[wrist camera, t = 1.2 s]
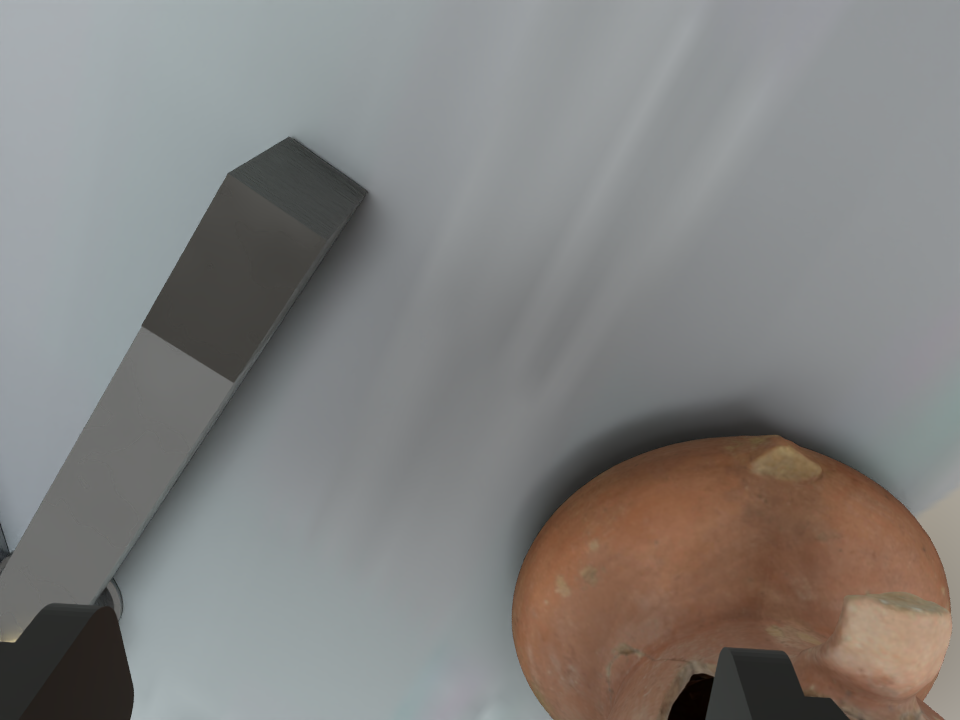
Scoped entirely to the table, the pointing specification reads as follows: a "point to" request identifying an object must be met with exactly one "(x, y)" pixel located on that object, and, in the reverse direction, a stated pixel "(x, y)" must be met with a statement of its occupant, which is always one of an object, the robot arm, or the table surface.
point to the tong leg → (178, 375)
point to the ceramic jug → (730, 585)
